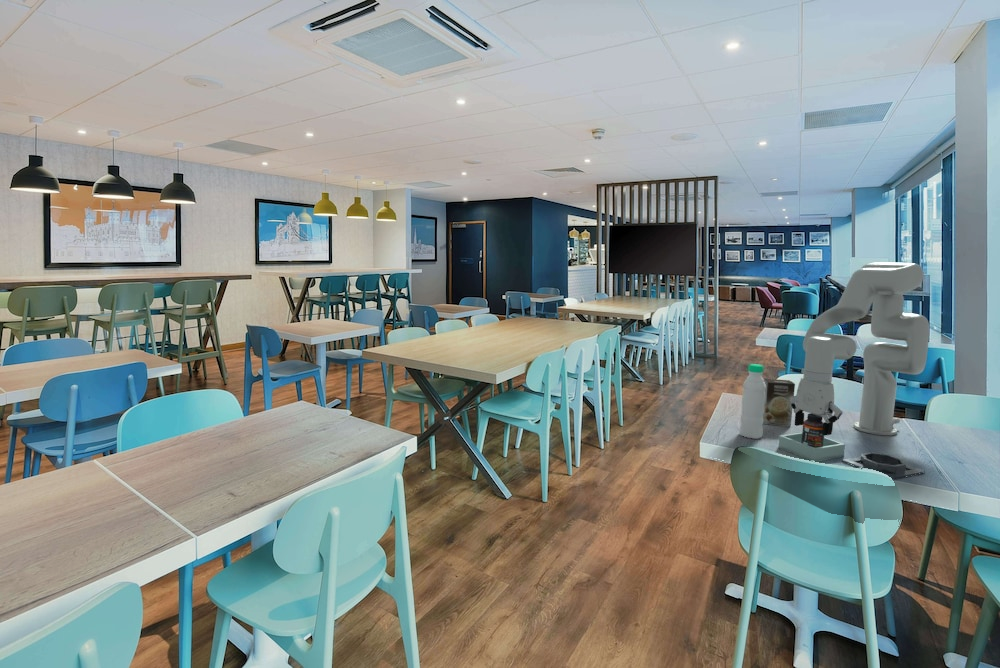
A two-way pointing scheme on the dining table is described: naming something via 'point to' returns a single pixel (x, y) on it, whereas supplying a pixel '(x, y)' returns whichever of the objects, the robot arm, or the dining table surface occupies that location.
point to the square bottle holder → (892, 470)
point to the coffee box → (778, 402)
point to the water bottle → (753, 403)
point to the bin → (811, 448)
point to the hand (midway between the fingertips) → (812, 429)
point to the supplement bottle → (813, 431)
